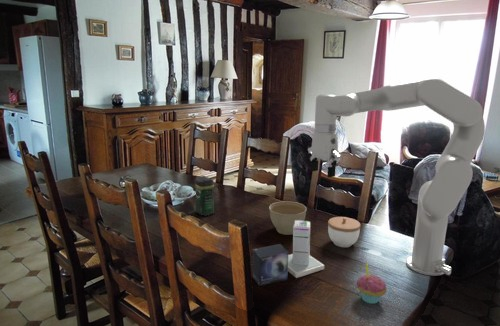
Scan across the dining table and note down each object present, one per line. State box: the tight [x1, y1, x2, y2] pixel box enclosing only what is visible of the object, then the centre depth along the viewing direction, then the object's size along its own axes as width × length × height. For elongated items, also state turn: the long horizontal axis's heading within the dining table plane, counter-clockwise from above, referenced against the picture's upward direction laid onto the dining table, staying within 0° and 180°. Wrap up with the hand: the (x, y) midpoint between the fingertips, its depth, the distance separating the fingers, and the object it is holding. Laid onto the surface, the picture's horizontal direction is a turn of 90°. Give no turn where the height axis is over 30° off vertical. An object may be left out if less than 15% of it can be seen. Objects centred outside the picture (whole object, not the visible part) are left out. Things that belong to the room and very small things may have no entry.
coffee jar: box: [194, 175, 215, 216], centre depth 173 cm, size 10×8×19 cm
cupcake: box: [356, 261, 387, 305], centre depth 105 cm, size 9×8×12 cm
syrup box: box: [292, 220, 311, 266], centre depth 123 cm, size 6×6×14 cm
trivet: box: [288, 253, 325, 279], centre depth 125 cm, size 12×12×2 cm
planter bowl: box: [268, 201, 307, 236], centre depth 153 cm, size 16×16×11 cm
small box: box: [251, 243, 290, 287], centre depth 116 cm, size 11×6×10 cm, turn 113°
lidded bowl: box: [327, 216, 362, 248], centre depth 141 cm, size 13×13×11 cm
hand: (322, 173), depth 132 cm, fingers open, 9 cm apart
